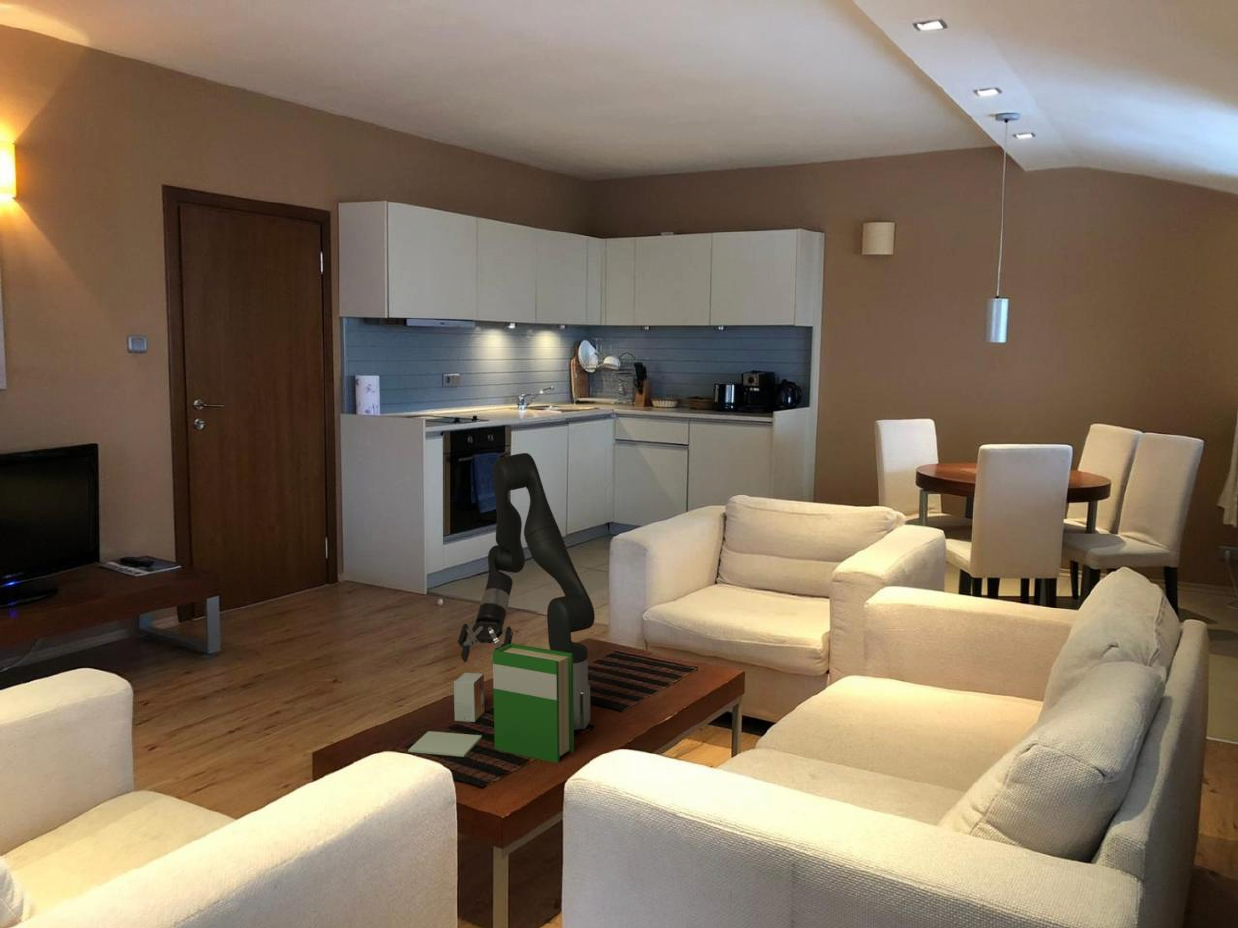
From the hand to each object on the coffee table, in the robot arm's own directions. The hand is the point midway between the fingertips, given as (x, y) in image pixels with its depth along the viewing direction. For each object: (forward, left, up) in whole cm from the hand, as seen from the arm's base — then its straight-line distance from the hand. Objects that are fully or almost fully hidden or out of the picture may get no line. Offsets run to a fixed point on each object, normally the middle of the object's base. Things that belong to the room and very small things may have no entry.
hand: (479, 661), depth 268 cm
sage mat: (-1, +27, -12) cm, 29 cm away
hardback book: (-23, +26, -12) cm, 37 cm away
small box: (0, +8, -12) cm, 15 cm away
